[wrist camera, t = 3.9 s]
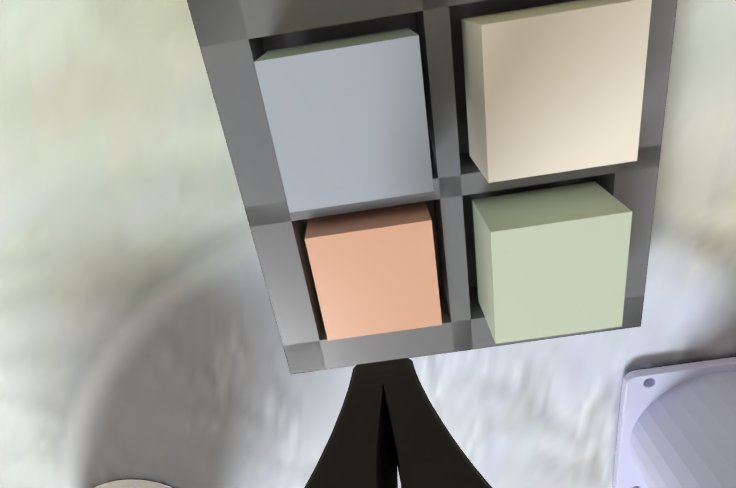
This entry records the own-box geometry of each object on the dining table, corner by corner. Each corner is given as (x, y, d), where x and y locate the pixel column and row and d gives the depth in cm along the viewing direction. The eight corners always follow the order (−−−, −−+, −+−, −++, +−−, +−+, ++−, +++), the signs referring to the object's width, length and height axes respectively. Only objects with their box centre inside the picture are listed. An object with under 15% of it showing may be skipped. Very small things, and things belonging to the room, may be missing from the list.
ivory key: (604, -5, 14) (652, -3, 12) (597, 136, 16) (636, 160, 14) (461, 18, 14) (481, 25, 12) (469, 155, 16) (488, 182, 14)
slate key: (408, 27, 14) (418, 35, 12) (422, 163, 16) (433, 191, 14) (268, 50, 15) (253, 61, 12) (297, 181, 16) (289, 212, 14)
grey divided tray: (638, -81, 15) (687, -92, 13) (609, 289, 21) (640, 326, 19) (208, -9, 16) (184, -8, 13) (297, 334, 22) (290, 374, 19)
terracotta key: (421, 191, 18) (431, 220, 16) (431, 286, 20) (442, 324, 18) (310, 208, 18) (304, 238, 16) (330, 301, 20) (327, 340, 18)
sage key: (595, 181, 17) (632, 211, 14) (589, 285, 19) (621, 326, 16) (472, 199, 17) (490, 232, 15) (478, 301, 19) (495, 344, 16)
